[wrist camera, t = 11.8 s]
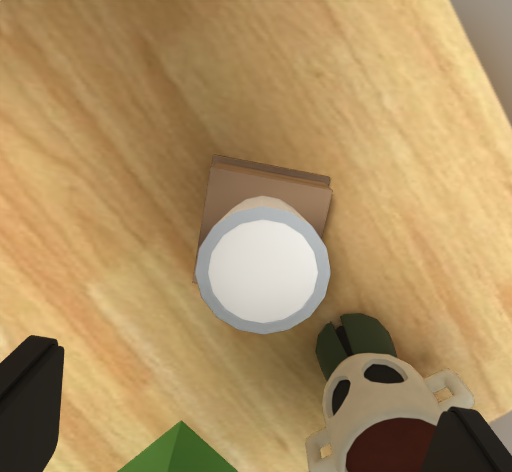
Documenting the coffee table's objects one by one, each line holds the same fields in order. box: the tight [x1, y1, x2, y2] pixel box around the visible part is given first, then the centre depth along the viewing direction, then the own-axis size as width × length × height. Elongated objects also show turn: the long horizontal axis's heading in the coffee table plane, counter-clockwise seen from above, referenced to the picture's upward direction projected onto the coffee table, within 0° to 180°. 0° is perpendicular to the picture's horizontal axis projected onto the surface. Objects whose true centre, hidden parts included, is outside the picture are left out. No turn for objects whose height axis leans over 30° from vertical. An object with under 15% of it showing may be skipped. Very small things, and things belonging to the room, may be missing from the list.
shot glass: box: [195, 196, 331, 334], centre depth 24 cm, size 7×7×7 cm
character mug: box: [305, 314, 475, 472], centre depth 29 cm, size 11×7×13 cm, turn 122°
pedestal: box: [192, 155, 333, 283], centre depth 30 cm, size 9×9×5 cm
